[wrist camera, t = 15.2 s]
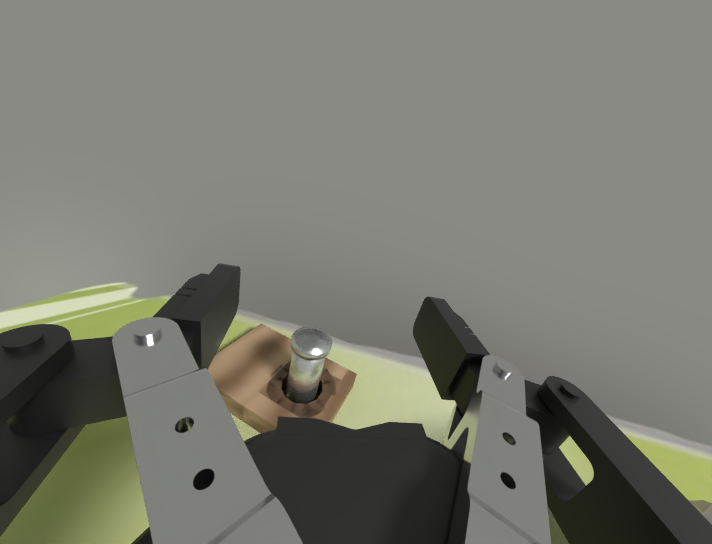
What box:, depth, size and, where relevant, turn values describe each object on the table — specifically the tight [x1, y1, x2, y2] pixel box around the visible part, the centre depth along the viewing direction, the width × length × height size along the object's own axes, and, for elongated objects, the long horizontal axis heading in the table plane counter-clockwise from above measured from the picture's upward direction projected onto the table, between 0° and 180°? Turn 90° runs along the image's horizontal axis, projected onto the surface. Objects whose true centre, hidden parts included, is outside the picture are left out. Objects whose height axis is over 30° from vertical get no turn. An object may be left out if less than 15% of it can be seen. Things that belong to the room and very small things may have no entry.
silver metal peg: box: [285, 327, 332, 404], centre depth 38 cm, size 5×5×12 cm
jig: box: [208, 324, 357, 433], centre depth 41 cm, size 20×14×3 cm
